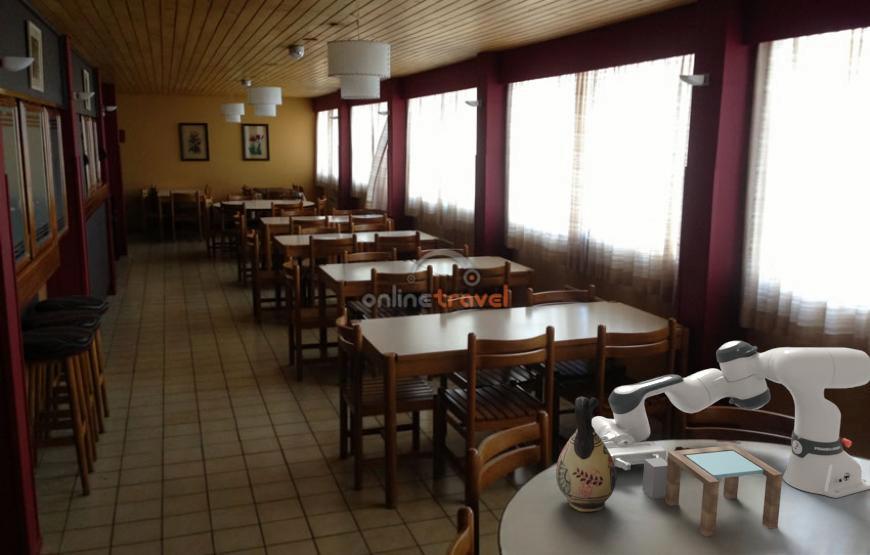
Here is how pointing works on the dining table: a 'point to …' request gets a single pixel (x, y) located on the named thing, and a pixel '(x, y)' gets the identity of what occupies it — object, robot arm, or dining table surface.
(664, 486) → the light grey block
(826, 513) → the dining table surface
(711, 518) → the trapdoor frame
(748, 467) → the trapdoor
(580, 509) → the ceramic jug
